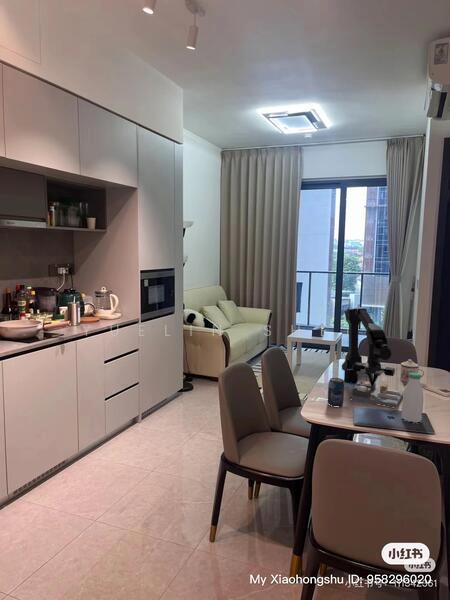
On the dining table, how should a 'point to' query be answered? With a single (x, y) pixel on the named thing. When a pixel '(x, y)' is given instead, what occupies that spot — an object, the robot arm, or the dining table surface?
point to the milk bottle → (413, 399)
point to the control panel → (376, 395)
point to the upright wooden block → (383, 388)
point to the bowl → (364, 360)
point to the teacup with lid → (408, 370)
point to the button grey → (362, 388)
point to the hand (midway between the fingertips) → (372, 386)
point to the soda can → (336, 392)
